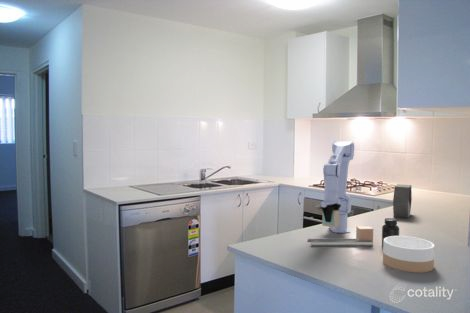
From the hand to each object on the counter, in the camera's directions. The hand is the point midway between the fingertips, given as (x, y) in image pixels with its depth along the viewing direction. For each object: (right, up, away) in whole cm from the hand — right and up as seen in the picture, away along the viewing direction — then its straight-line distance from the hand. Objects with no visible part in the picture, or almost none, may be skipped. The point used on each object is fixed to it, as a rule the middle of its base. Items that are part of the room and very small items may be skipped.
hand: (330, 220), depth 168 cm
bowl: (+21, -11, -28) cm, 37 cm away
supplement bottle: (+23, -10, -8) cm, 27 cm away
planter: (+54, -6, +51) cm, 75 cm away
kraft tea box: (0, -2, 0) cm, 2 cm away
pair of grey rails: (+3, -9, -3) cm, 10 cm away
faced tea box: (+14, -9, -3) cm, 17 cm away
